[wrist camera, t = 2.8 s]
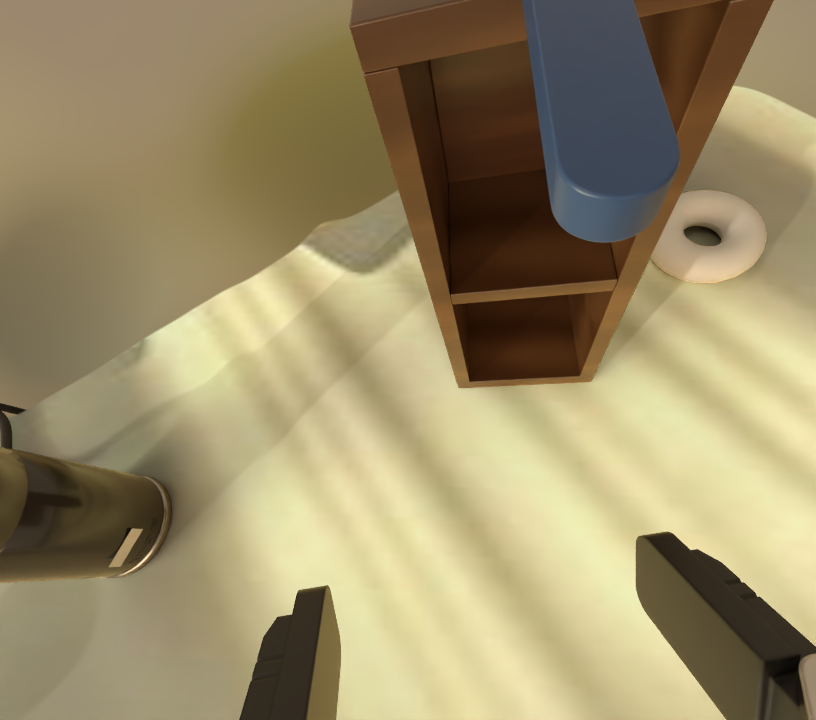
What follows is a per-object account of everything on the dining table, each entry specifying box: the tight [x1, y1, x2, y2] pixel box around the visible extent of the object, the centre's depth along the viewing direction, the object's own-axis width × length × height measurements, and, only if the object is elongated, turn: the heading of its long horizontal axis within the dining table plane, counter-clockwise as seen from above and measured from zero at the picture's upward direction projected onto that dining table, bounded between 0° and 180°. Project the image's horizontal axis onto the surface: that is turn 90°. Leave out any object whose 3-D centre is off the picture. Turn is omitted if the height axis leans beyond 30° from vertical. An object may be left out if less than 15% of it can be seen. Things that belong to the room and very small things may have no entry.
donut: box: [650, 190, 767, 283], centre depth 41 cm, size 10×4×10 cm
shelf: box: [350, 0, 773, 388], centre depth 28 cm, size 10×12×32 cm
